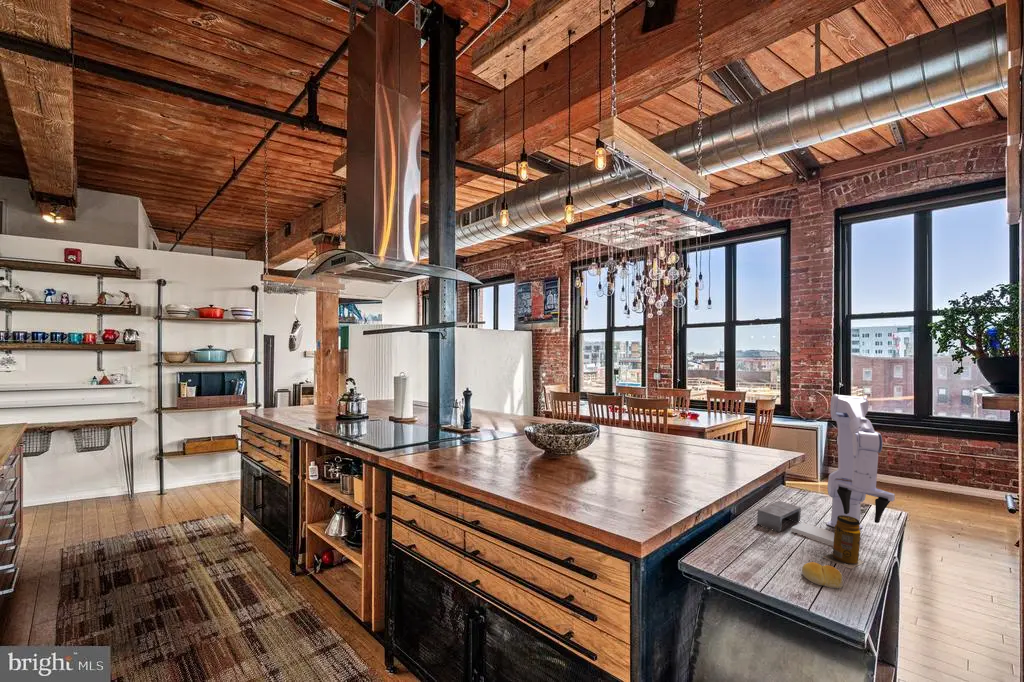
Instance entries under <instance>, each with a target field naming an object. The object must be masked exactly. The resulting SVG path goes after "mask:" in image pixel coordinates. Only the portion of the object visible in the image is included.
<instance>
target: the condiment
mask: <svg viewBox="0 0 1024 682" xmlns="http://www.w3.org/2000/svg"><path fill="white" fill-rule="evenodd" d="M860 523H861V521H860V522H859V520H857V519H856V518H853V517H850V516H845V515H839V516H838V517H837V524H836V525H835V527H834V544H833V546H832V552H831V553H828V554H826V555H823V556H822V558H824V559H825V560H827V561H830V562H831V563H835V564H836V565H839V566H843V567H845V568H848V569H851V570H852V569H854V568H855V567H856V568H857V567H858V566H860V565H862V564H864V563H865V561H863V560H861V559H859V558H860V557H859V556H860V544H861V534H862V533H861V530H860V529H859V528H860V526H859V524H860ZM860 525H861V524H860Z"/></svg>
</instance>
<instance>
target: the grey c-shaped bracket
mask: <svg viewBox="0 0 1024 682" xmlns="http://www.w3.org/2000/svg"><path fill="white" fill-rule="evenodd" d="M801 511H802V507H801V506H799V505H794V504H792V503H791V504H790V503H788V502H784V501H781V500H777V501H776V502H773V503H770V504H767V505H766V506H763V507H761V508H758V509H757V518H756V525H757V524H759V525H758V526H760V525H762V526H765V527H767V528H766V529H768V528H770V529H769V530H771V529H773V530H772V531H774V530H776V531H775V532H777V531H778V532H777V533H781V532H782V525H783V523H782V522H783V520H784V519H785V518H787V519H786V520H788V519H791V520H793V521H792V522H794V521H796V522H795V523H797V522H799V521H800V522H801ZM791 520H790V521H791ZM800 522H799V523H800ZM762 526H761V527H762ZM765 527H764V528H765ZM780 531H781V532H780Z"/></svg>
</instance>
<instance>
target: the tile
mask: <svg viewBox="0 0 1024 682" xmlns="http://www.w3.org/2000/svg"><path fill="white" fill-rule="evenodd" d="M791 531H792V532H795V533H798V534H800V536H801V535H803V536H802V537H804V536H806V537H805V538H807V537H808V539H810V538H811V540H813V541H817V542H819V543H823V544H825V545H828V546H831V547H833V544H834V532H833V531H830V530H827V529H824V528H821V527H818V526H815V525H812V524H808V523H805V522H802V521H800V522H799V523H797V524H795V525H793V526H791ZM792 532H791V533H792ZM795 533H794V534H795ZM798 534H797V535H798Z"/></svg>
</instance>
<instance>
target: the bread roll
mask: <svg viewBox="0 0 1024 682" xmlns="http://www.w3.org/2000/svg"><path fill="white" fill-rule="evenodd" d="M801 573H802V575H803V577H804V578H805V579H807V580H808V581H810V582H811V583H813V584H816V585H819V586H825V587H827V588H830V589H841V588H843V585H844V582H843V574H842V573H841V572H840V571H839V569H838V568H836V567H834V566H832V565H829V564H825V565H821V564H820V563H817V562H815V561H809V562H807V563H805V564H804V565H803V566H802V568H801Z"/></svg>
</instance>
